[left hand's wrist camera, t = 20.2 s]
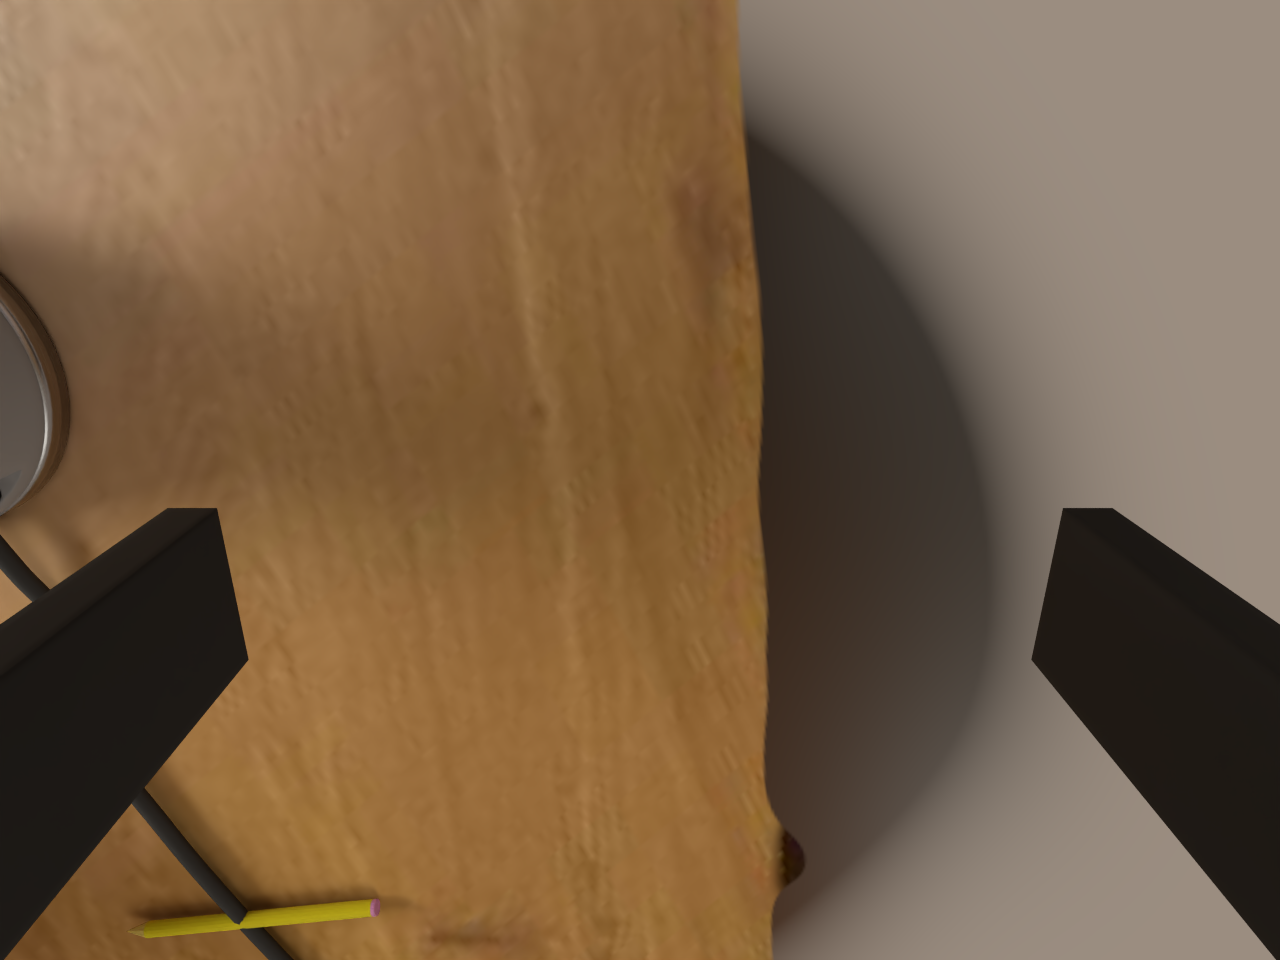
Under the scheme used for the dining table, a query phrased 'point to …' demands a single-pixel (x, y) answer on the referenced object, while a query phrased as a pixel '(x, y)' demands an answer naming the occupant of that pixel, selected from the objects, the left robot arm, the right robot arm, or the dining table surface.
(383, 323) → the dining table surface
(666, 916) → the dining table surface
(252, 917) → the pencil
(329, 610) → the dining table surface
